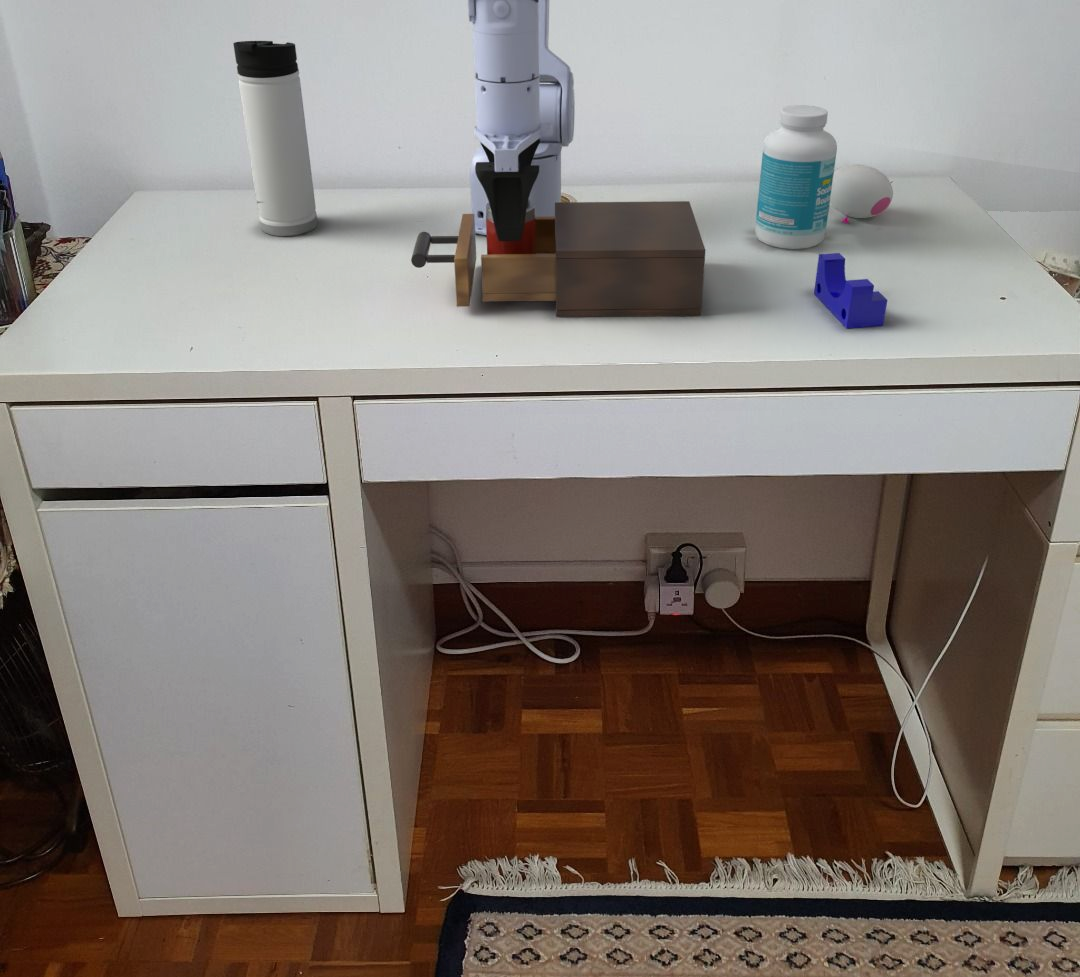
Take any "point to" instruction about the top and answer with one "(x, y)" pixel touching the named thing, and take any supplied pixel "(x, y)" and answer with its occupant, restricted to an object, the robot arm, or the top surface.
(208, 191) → the top surface
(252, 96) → the travel mug
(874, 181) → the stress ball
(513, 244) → the can
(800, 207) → the pill bottle
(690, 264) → the organiser
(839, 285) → the cable holder
